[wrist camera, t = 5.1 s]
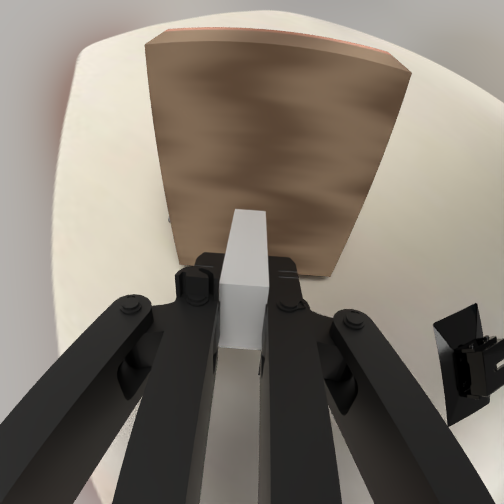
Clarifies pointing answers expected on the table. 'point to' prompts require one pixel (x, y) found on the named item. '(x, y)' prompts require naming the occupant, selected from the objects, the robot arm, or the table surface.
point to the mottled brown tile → (269, 135)
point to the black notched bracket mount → (467, 363)
